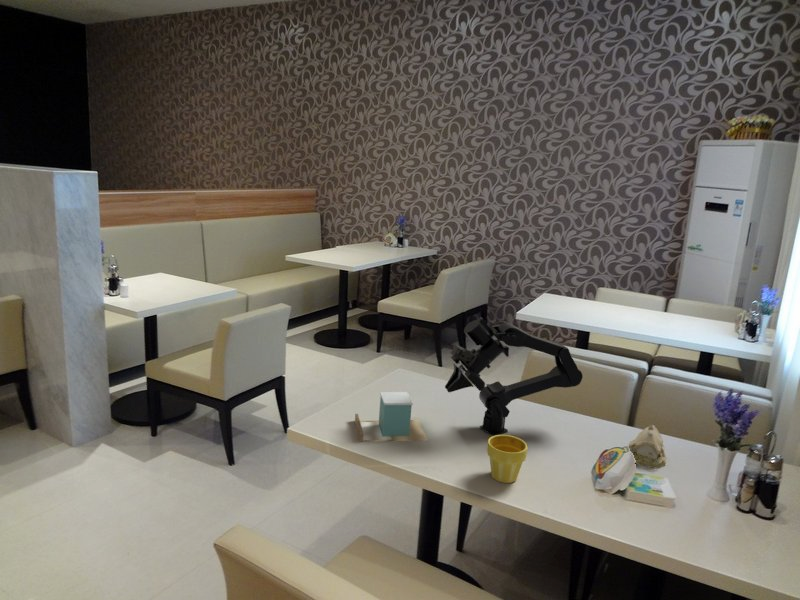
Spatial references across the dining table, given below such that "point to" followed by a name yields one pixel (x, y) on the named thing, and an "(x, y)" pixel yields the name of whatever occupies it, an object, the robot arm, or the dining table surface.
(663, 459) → the ceramic model
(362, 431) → the plinth board
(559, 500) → the dining table surface
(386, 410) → the tin
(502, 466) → the plant pot
